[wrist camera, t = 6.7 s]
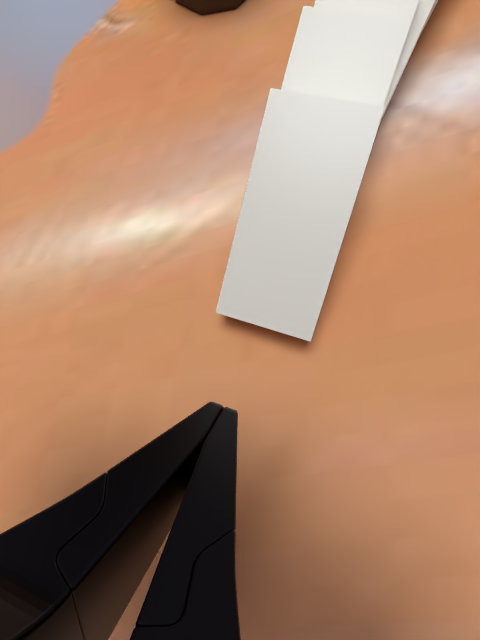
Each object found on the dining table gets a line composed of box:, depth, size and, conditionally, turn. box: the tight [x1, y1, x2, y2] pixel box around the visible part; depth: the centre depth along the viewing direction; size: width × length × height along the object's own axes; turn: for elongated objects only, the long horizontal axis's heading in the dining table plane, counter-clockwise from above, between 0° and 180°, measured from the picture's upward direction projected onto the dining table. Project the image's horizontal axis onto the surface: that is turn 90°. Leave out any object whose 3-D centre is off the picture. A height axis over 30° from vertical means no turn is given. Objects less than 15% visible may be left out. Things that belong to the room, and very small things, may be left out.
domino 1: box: [216, 88, 385, 342], centre depth 17 cm, size 2×5×11 cm
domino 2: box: [281, 6, 412, 106], centre depth 18 cm, size 2×5×11 cm
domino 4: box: [379, 0, 436, 124], centre depth 20 cm, size 2×5×11 cm
